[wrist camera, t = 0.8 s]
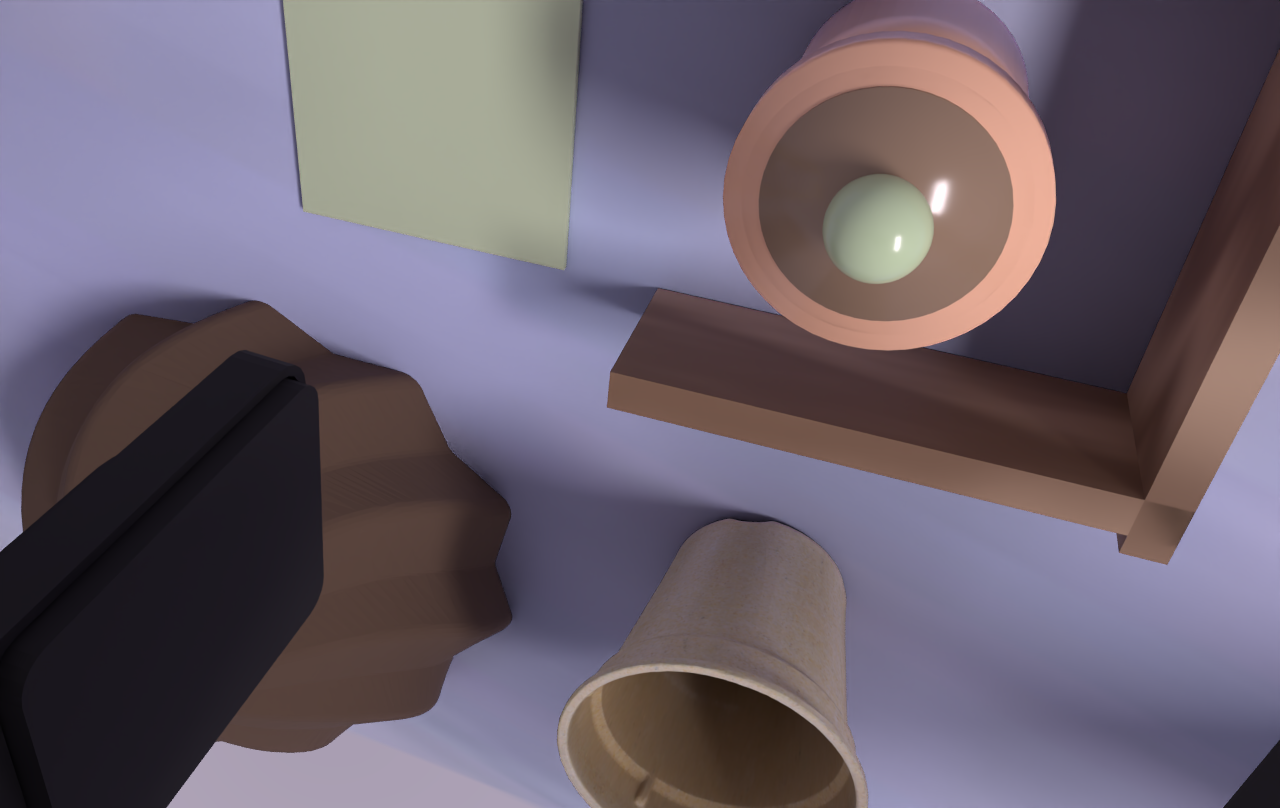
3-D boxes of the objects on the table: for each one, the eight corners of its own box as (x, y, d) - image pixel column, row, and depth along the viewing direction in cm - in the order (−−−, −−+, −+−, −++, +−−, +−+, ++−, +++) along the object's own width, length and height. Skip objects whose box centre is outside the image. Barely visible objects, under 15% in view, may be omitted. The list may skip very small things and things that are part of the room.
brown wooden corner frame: (1146, 452, 32) (1167, 564, 28) (652, 337, 34) (605, 424, 30) (1474, -239, 21) (1584, -220, 17) (732, -329, 24) (677, -331, 20)
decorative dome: (129, 611, 51) (-33, 783, 43) (37, 240, 39) (-207, 382, 32) (508, 730, 48) (408, 939, 40) (528, 365, 36) (395, 557, 28)
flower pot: (842, 707, 41) (808, 915, 34) (611, 621, 42) (534, 807, 35) (933, 535, 35) (916, 743, 28) (665, 441, 36) (586, 620, 29)
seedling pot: (1000, 247, 29) (998, 433, 22) (759, 197, 31) (682, 358, 23) (1084, -9, 25) (1114, 117, 18) (803, -55, 27) (726, 45, 19)
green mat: (566, 267, 34) (564, 270, 33) (306, 209, 35) (303, 211, 35) (598, -253, 25) (596, -253, 25) (258, -300, 27) (254, -300, 27)
